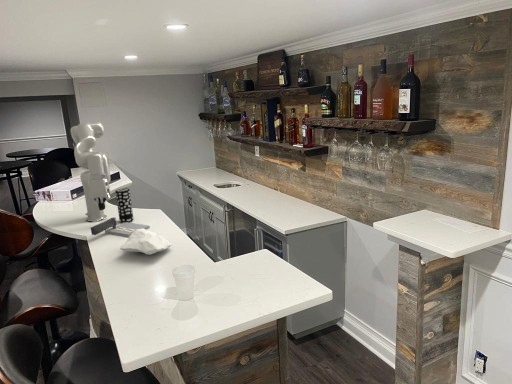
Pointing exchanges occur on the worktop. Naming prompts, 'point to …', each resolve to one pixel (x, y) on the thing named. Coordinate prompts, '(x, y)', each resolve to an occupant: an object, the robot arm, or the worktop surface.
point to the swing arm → (103, 226)
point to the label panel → (125, 229)
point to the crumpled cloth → (145, 242)
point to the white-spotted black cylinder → (124, 205)
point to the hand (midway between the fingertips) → (102, 209)
